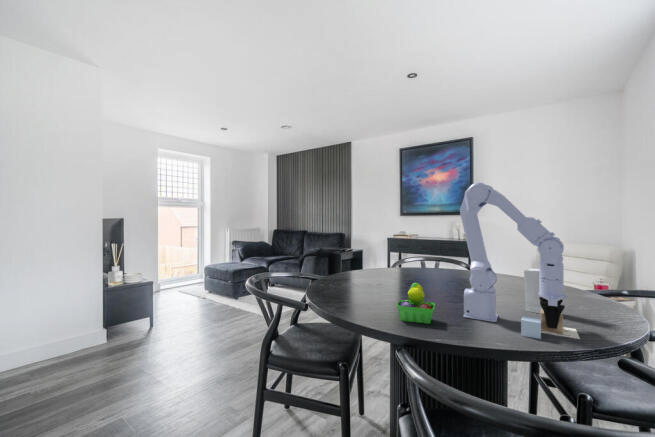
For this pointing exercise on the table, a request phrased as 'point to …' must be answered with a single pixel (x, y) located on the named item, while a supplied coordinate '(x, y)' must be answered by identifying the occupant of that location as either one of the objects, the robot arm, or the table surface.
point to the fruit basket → (415, 306)
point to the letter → (565, 333)
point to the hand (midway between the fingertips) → (551, 325)
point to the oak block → (545, 328)
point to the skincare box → (532, 290)
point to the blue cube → (531, 327)
